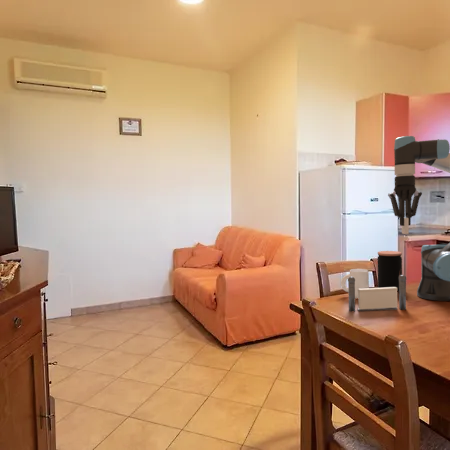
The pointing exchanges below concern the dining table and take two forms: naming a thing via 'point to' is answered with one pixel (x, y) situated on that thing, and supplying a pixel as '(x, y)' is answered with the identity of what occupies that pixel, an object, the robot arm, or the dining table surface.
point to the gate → (377, 298)
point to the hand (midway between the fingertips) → (405, 233)
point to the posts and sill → (401, 306)
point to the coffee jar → (389, 269)
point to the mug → (357, 280)
